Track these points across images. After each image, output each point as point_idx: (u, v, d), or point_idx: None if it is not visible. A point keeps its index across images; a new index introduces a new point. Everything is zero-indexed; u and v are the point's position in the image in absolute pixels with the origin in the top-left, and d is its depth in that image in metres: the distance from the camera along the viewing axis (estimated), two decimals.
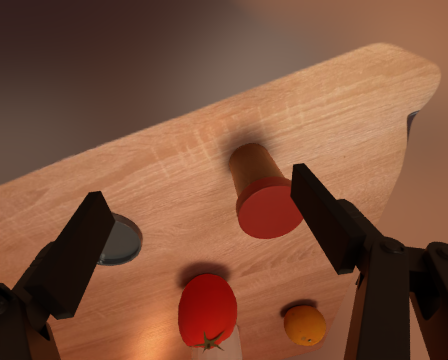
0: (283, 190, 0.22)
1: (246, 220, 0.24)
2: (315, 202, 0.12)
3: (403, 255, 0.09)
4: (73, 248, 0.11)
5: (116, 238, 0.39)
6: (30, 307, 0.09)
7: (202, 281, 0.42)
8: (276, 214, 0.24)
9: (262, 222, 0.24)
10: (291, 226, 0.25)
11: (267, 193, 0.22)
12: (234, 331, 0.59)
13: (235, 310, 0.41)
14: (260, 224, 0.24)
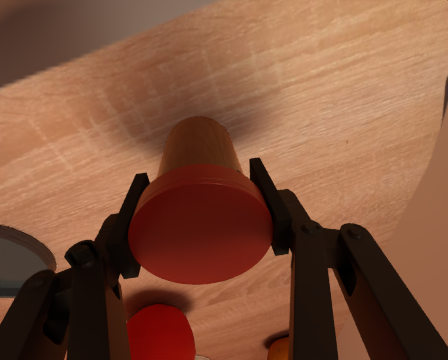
0: (216, 193, 0.10)
1: (149, 254, 0.12)
2: (261, 192, 0.13)
3: (319, 232, 0.10)
4: None
5: (12, 260, 0.26)
6: (109, 266, 0.10)
7: (146, 319, 0.30)
8: (211, 242, 0.12)
9: (185, 257, 0.12)
10: (246, 263, 0.13)
11: (180, 200, 0.10)
12: None
13: None
14: (182, 260, 0.12)
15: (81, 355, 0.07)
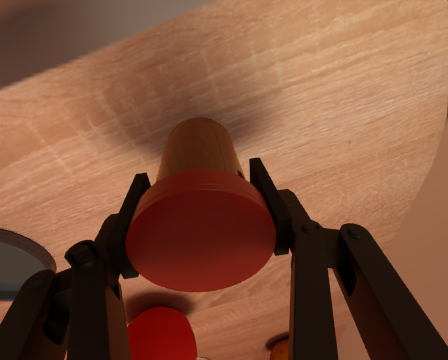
0: (137, 250, 0.11)
1: (220, 281, 0.13)
2: (261, 192, 0.13)
3: (319, 232, 0.10)
4: None
5: (12, 264, 0.26)
6: (109, 266, 0.10)
7: (147, 322, 0.30)
8: (203, 244, 0.11)
9: (226, 259, 0.12)
10: (241, 208, 0.10)
11: (151, 269, 0.11)
12: None
13: None
14: (231, 261, 0.12)
15: (81, 355, 0.07)
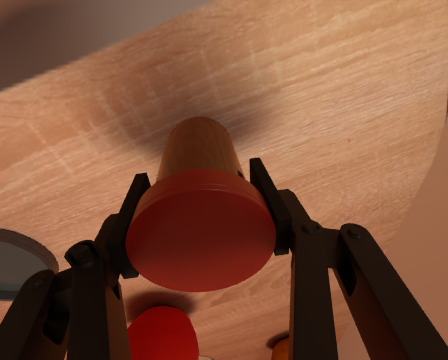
0: (204, 286, 0.13)
1: (258, 230, 0.11)
2: (261, 192, 0.13)
3: (319, 232, 0.10)
4: None
5: (15, 264, 0.26)
6: (109, 266, 0.10)
7: (149, 321, 0.30)
8: (196, 251, 0.11)
9: (219, 231, 0.11)
10: (142, 232, 0.10)
11: (230, 278, 0.13)
12: None
13: None
14: (223, 226, 0.10)
15: (81, 355, 0.07)
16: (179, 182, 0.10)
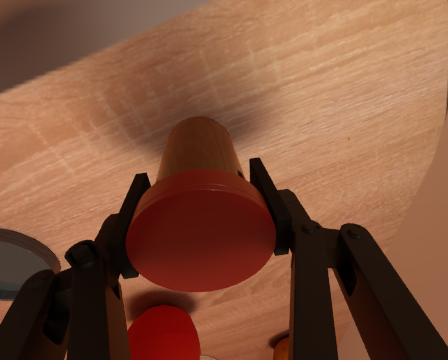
0: (266, 242, 0.11)
1: (171, 213, 0.10)
2: (261, 192, 0.13)
3: (319, 232, 0.10)
4: None
5: (17, 264, 0.27)
6: (109, 266, 0.10)
7: (151, 320, 0.30)
8: (206, 254, 0.11)
9: (177, 242, 0.11)
10: (184, 285, 0.13)
11: (255, 221, 0.10)
12: None
13: None
14: (169, 241, 0.11)
15: (81, 355, 0.07)
16: None
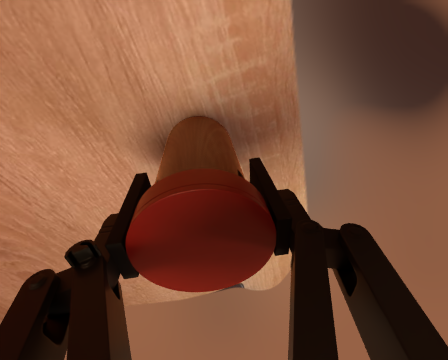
0: (266, 242, 0.11)
1: (171, 213, 0.10)
2: (261, 192, 0.13)
3: (319, 232, 0.10)
4: None
5: None
6: (109, 266, 0.10)
7: None
8: (206, 254, 0.11)
9: (177, 242, 0.11)
10: (184, 285, 0.13)
11: (255, 221, 0.10)
12: None
13: None
14: (169, 241, 0.11)
15: (81, 355, 0.07)
16: None
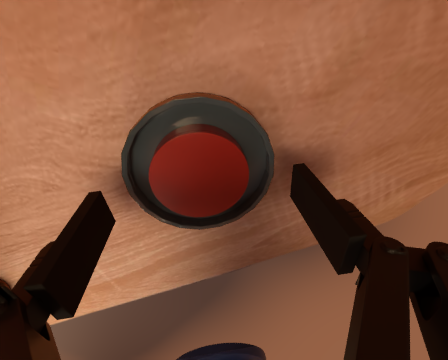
0: (242, 175, 0.17)
1: (179, 149, 0.15)
2: (315, 202, 0.12)
3: (403, 255, 0.09)
4: (73, 248, 0.11)
5: None
6: (30, 307, 0.09)
7: None
8: (201, 184, 0.17)
9: (182, 172, 0.16)
10: (186, 210, 0.18)
11: (234, 158, 0.16)
12: None
13: None
14: (177, 171, 0.16)
15: None
16: None
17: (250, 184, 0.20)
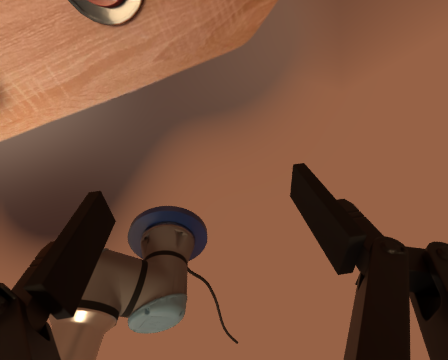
0: None
1: None
2: (315, 202, 0.12)
3: (403, 255, 0.09)
4: (73, 248, 0.11)
5: None
6: (30, 307, 0.09)
7: None
8: None
9: None
10: None
11: None
12: None
13: None
14: None
15: None
16: None
17: None
